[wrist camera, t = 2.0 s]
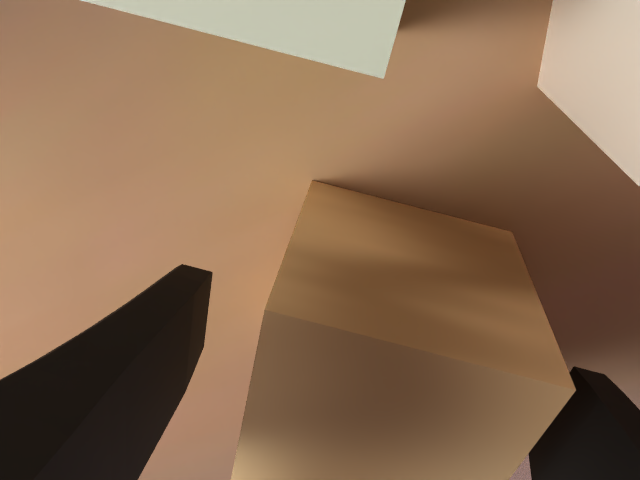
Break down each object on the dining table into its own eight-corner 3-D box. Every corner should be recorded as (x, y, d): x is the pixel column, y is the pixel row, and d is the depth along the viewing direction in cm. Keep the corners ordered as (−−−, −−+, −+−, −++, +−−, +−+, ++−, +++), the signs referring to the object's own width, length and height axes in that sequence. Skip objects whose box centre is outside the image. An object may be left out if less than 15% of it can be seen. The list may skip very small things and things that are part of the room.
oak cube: (510, 229, 11) (575, 390, 7) (441, 369, 13) (459, 545, 9) (312, 178, 11) (264, 309, 7) (279, 327, 13) (230, 485, 9)
